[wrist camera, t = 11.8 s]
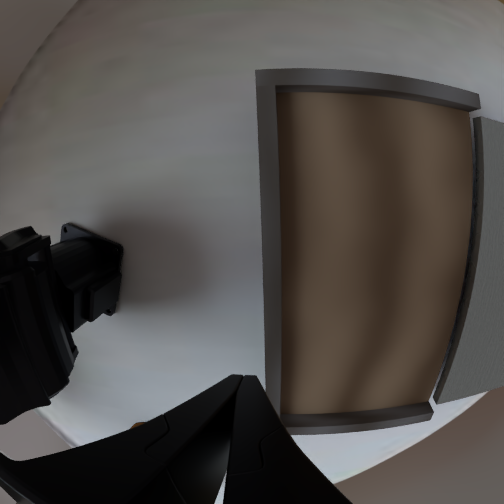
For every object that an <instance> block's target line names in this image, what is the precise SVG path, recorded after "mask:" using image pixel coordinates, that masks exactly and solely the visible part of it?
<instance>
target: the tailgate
mask: <svg viewBox="0 0 504 504" xmlns="http://www.w3.org/2000/svg"><path fill="white" fill-rule="evenodd" d="M473 126H474V138H475V157H476V196H475V215H474V228H473V238H472V247H471V255H470V262H469V268H468V274H467V280H466V286H465V291H464V296H463V300H462V305H461V309H460V314H459V318H458V322H457V325H456V329H455V333H454V337H453V340H452V343H451V347H450V350H449V353H448V356H447V360H446V363H445V366H444V368H443V371H442V374H441V377H440V380H439V382H438V385H437V388H436V390H435V393H434V395H433V399H434V401H435V403H436V405H437V404H441V403H445V402H450V401H454V400H458V399H462V398H465V397H469V396H473V395H476V394H479V393H483V392H486V391H489V390H492V389H495V388H498V387H501V386H504V123H501V122H498V121H495V120H491V119H488V118H484V117H476V118H473Z"/></svg>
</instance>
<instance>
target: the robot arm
mask: <svg viewBox="0 0 504 504" xmlns="http://www.w3.org/2000/svg"><path fill="white" fill-rule="evenodd" d="M66 228H67V230H66ZM50 244H51V239H50V236H42V235H38V233H36V232H35V231H34V229H33V228H32V227H31V226H28V227H24V228H20V229H17V230H14V231H11V232H8V233H6V234H4V235H2V236H1V237H0V425H3V424H6V423H8V422H9V421H11V420H12V419H14V418H16V417H17V416H19V415H20V414H22V413H24V412H26V411H28V410H31V409H34V408H37V407H43V406H48V405H50V404H51V401H50V398H52V397H54V396H55V395H57V394H58V393H59V392H60V391H61V390H63V389H64V388H65V387H66V386H67V385H68V383H69V378H68V377H69V375H70V373H71V371H72V369H73V367H74V362H75V359H76V357H77V355H78V353H79V352H78V349H77V346H76V345H75V344H74V341H73V338H72V335H71V332H74V331H75V330H77V329H78V328H79V327H80V326H81V325H83V324H84V323H85V322H86V321H89V322H92V321H94V320H95V319H97V318H98V317H99V316H100V315H101V314H103V313H104V314H106V315H108V316H112V315H113V314H114V313H115V311H116V302H117V301H118V299H119V291H120V283H121V276H122V275H121V272H120V270H121V263H122V257H123V247H122V246H121V245H120V244H118V243H116V242H113V241H111V240H108V239H106V238H103V237H101V236H98V235H96V234H93V233H91V232H88V231H86V230H84V229H81V228H79V227H76V226H74V225H72V224H69V223H66V224H64V225H63V226H62V229H61V239H60V242H59V243H56V244H54V245H51V246H50ZM116 248H117V249H118V253H117V252H116ZM109 309H110V310H111V311H110V310H109ZM226 470H227V475H226V482H225V491H224V499H223V504H353V503H352V502H350V501H349V500H348V499H347V498H346V497H345V496H344V495H343V494H342V493H341V492H340V491H339V490H338V489H337V488H336V487H335V486H334V485H333V484H332V483H331V482H330V481H329V480H328V479H327V477H326V476H325V475H324V474H323V473H322V472H321V471H320V470H319V469H318V468H317V467H316V466H315V465H314V464H313V463H312V462H311V460H310V459H309V458H308V457H307V456H306V455H305V454H304V453H303V452H302V450H301V449H300V448H299V447H298V445H297V444H296V443H295V441H294V440H293V438H292V437H291V435H290V434H289V432H288V431H287V429H286V427H285V426H284V424H283V423H282V421H281V419H280V417H279V415H278V414H277V412H276V410H275V408H274V407H273V405H272V403H271V401H270V399H269V398H268V396H267V394H266V392H265V390H264V389H263V387H262V385H261V383H260V381H259V379H258V378H257V376H255V375H245V376H243V375H236V374H232V375H230V376H228V377H227V378H225V379H223V380H222V381H220V382H218V383H217V384H215V385H213V386H212V387H210V388H208V389H207V390H205V391H203V392H201V393H200V394H198V395H196V396H195V397H193V398H191V399H189V400H188V401H186V402H184V403H182V404H180V405H179V406H177V407H175V408H173V409H171V410H170V411H168V412H166V413H164V414H161V415H159V416H157V417H156V418H154V419H152V420H149V421H147V422H145V423H143V424H141V425H139V426H136V427H134V428H131V429H129V430H126V431H124V432H121V433H118V434H115V435H113V436H110V437H107V438H104V439H101V440H98V441H95V442H92V443H89V444H85V445H82V446H79V447H76V448H72V449H69V450H66V451H62V452H58V453H54V454H51V455H46V456H42V457H38V458H34V459H30V460H25V461H14V460H11V459H9V458H7V457H6V456H5V455H3V454H2V453H1V452H0V486H1V487H2V488H3V489H4V490H5V491H6V492H7V493H8V494H9V495H10V496H11V497H12V498H13V499H14V500H15V501H16V502H17V503H16V504H214V503H215V500H216V498H217V495H218V492H219V490H220V487H221V484H222V481H223V479H224V476H225V473H226Z"/></svg>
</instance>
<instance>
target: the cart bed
mask: <svg viewBox="0 0 504 504" xmlns="http://www.w3.org/2000/svg"><path fill="white" fill-rule="evenodd" d="M255 75H256V96H257V119H258V143H259V169H260V196H261V225H262V257H263V292H264V331H265V378H266V394H267V396H268V398H269V399H270V401H271V403H272V405H273V407H274V408H275V410H276V412H277V414H278V415H279V417H280V419H281V421H282V423H283V424H284V426H285V427H286V429H287V431H288V432H289V434H290V435H316V434H336V433H349V432H359V431H368V430H377V429H384V428H391V427H397V426H403V425H409V424H414V423H419V422H424V421H428V420H431V418H432V415H433V413H434V411H433V409H432V407H431V405H430V403H429V399H430V396H431V394H432V391H433V388H434V386H435V383H436V380H437V378H438V375H439V372H440V369H441V366H442V363H443V360H444V357H445V354H446V351H447V347H448V344H449V340H450V337H451V333H452V330H453V326H454V322H455V318H456V314H457V309H458V305H459V300H460V295H461V290H462V285H463V280H464V274H465V268H466V261H467V254H468V246H469V237H470V226H471V213H472V189H473V164H472V140H471V127H470V117H469V112H471V111H474V110H478V109H481V106H480V99H479V94H477V93H473V92H470V91H466V90H463V89H459V88H455V87H451V86H447V85H443V84H439V83H434V82H429V81H424V80H419V79H414V78H408V77H402V76H396V75H389V74H381V73H373V72H363V71H352V70H337V69H307V68H292V69H262V70H255Z"/></svg>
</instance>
